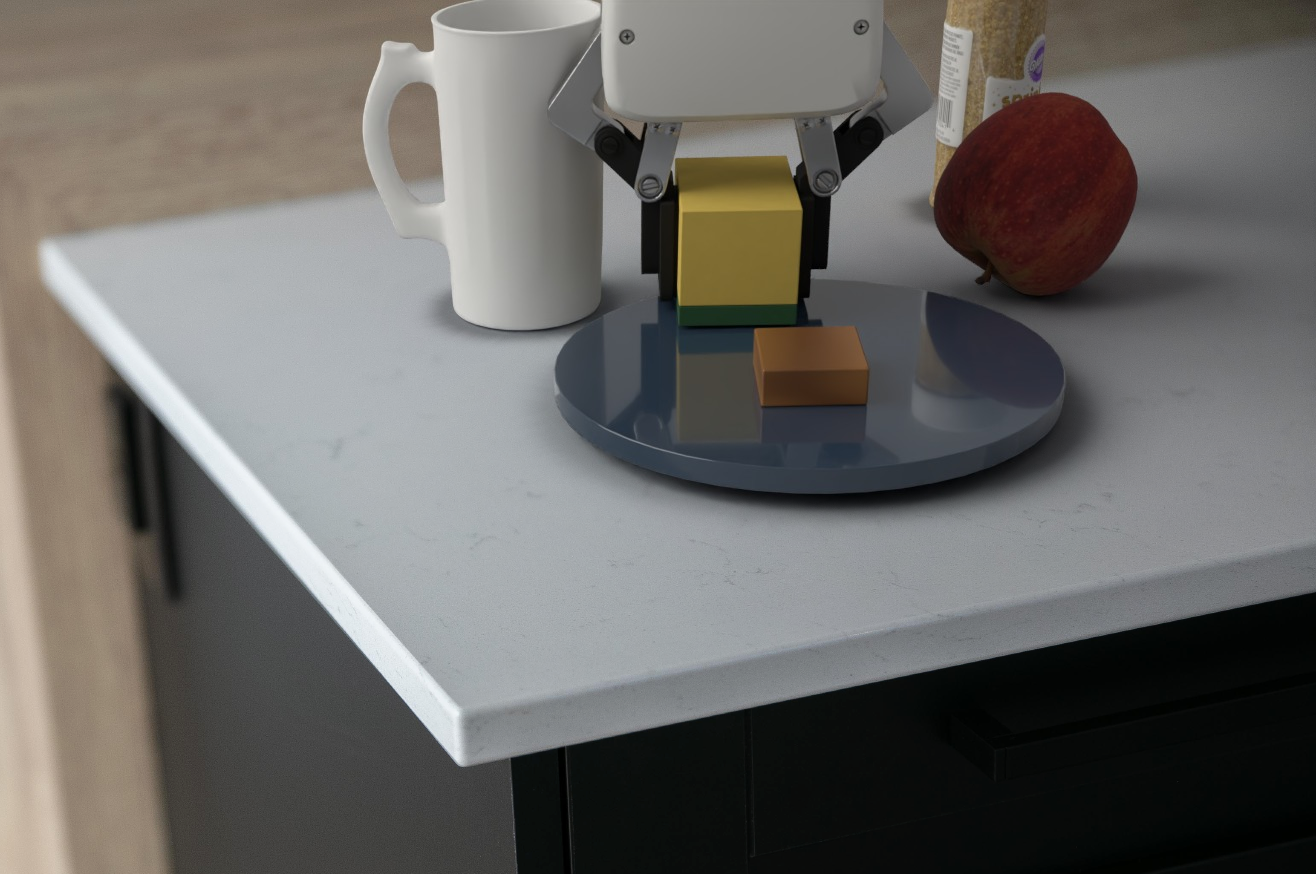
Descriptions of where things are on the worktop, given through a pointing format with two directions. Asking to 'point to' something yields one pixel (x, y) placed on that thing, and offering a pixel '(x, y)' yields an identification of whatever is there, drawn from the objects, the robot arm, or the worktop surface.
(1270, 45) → the worktop surface
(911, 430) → the plate
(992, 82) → the sprinkles bottle
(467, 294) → the mug
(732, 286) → the sponge
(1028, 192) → the apple
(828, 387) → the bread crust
